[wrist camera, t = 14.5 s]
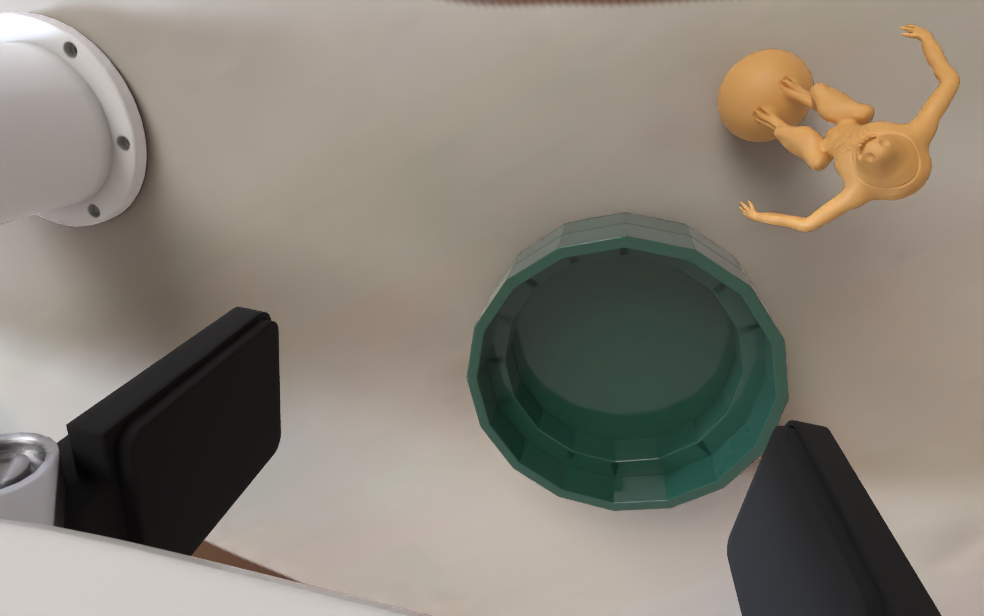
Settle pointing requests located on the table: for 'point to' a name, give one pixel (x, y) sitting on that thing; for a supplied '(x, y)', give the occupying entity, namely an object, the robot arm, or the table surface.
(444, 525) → the table surface
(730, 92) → the figurine
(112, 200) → the robot arm
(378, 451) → the table surface
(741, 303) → the bowl
